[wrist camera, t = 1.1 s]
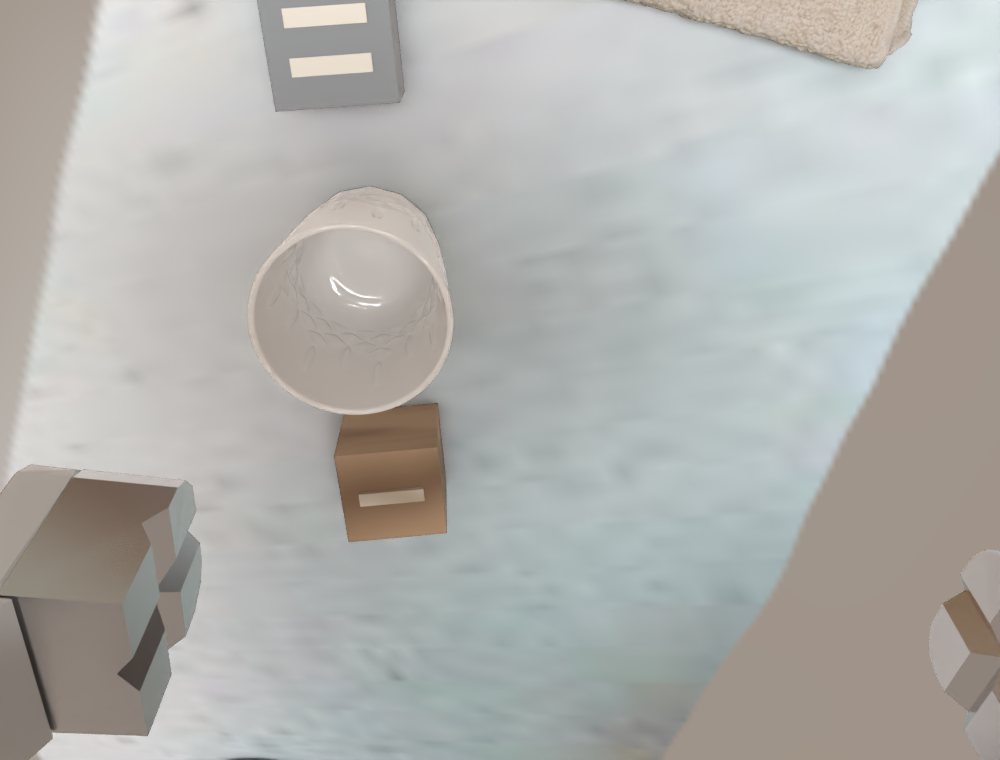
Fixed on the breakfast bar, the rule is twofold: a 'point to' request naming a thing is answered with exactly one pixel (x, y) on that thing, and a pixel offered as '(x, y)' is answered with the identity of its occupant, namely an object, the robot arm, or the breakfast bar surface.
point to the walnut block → (392, 473)
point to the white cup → (354, 305)
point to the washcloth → (811, 24)
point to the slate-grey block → (332, 52)
